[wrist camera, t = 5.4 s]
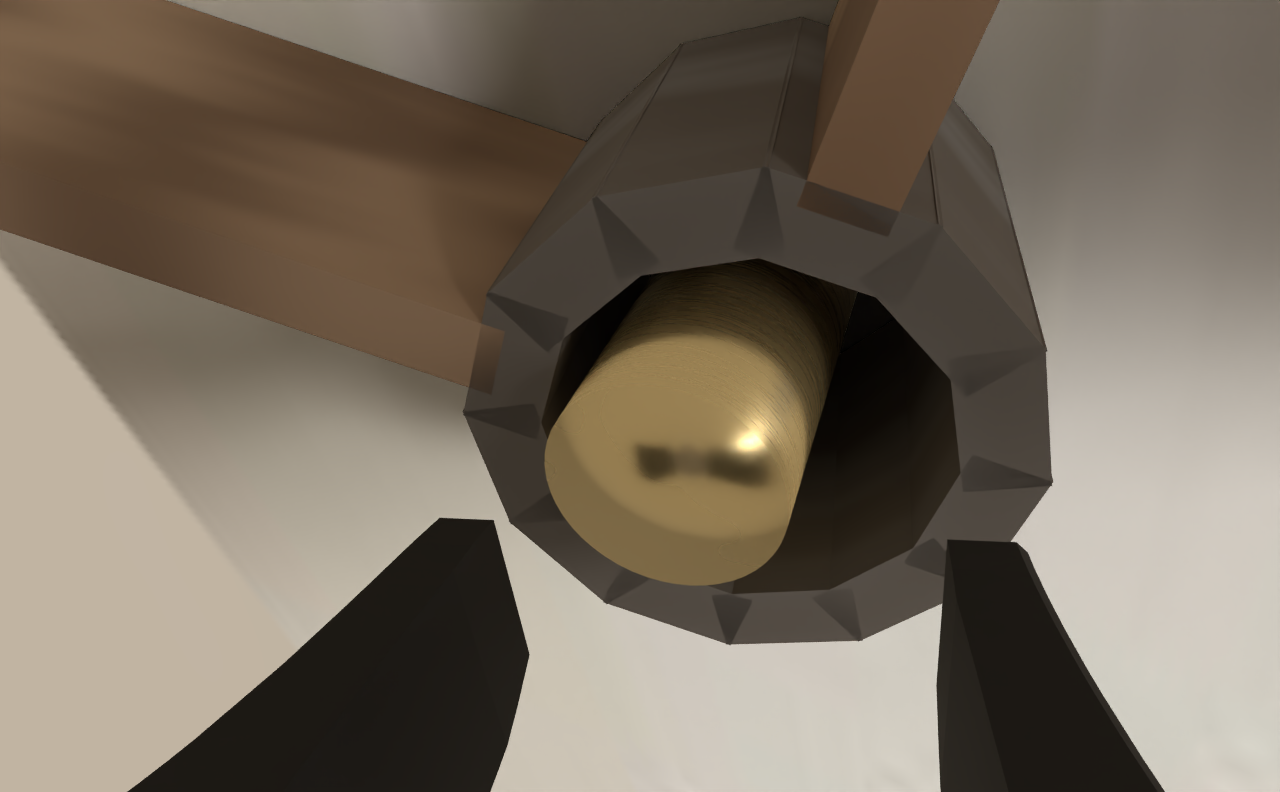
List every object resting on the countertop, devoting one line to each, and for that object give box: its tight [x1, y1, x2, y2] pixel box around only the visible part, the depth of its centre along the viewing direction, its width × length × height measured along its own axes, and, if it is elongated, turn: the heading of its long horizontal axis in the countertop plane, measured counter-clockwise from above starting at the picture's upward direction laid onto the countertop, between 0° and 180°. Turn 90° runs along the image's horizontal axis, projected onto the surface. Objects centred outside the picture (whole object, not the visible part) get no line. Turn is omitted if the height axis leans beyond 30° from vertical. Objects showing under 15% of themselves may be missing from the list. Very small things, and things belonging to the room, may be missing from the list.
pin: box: [545, 258, 858, 586], centre depth 14 cm, size 3×3×7 cm
